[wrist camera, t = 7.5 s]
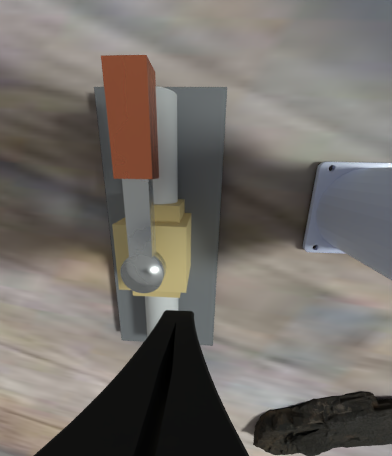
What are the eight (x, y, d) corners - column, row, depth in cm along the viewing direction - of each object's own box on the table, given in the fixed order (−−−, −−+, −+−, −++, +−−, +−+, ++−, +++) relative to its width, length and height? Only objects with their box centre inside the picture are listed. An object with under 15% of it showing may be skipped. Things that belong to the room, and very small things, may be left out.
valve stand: (225, 93, 15) (237, 43, 9) (212, 336, 22) (214, 398, 16) (102, 93, 16) (37, 44, 10) (126, 331, 23) (96, 390, 17)
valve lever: (167, 283, 13) (162, 296, 12) (129, 281, 13) (120, 294, 12) (160, 72, 10) (153, 54, 8) (110, 72, 10) (94, 55, 8)
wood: (435, 379, 23) (469, 410, 20) (429, 422, 25) (460, 456, 22) (243, 398, 25) (248, 428, 22) (252, 436, 27) (258, 468, 24)
